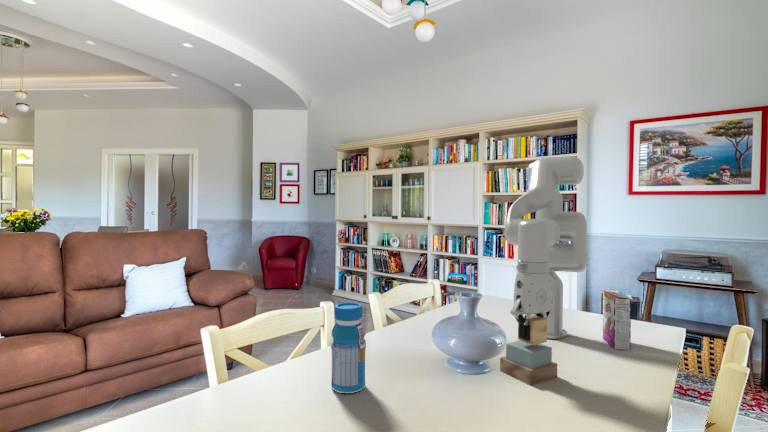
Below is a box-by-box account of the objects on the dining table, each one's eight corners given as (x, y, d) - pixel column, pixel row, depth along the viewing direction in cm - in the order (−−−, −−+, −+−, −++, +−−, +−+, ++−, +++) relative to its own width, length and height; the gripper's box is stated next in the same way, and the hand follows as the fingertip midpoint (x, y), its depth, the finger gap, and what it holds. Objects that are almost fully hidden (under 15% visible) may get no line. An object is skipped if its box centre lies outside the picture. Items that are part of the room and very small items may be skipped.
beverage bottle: (338, 398, 92) (338, 311, 92) (325, 384, 99) (326, 303, 99) (371, 390, 96) (371, 307, 95) (357, 377, 103) (357, 299, 103)
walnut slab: (500, 372, 108) (500, 357, 108) (526, 365, 113) (526, 351, 113) (530, 387, 99) (530, 371, 99) (557, 378, 104) (557, 363, 104)
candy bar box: (601, 338, 135) (602, 289, 135) (617, 339, 134) (618, 290, 134) (613, 350, 124) (614, 297, 124) (631, 351, 123) (632, 297, 123)
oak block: (517, 339, 106) (518, 316, 106) (531, 336, 108) (531, 314, 108) (533, 345, 102) (533, 321, 102) (546, 342, 104) (547, 318, 104)
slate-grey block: (506, 358, 107) (506, 343, 107) (525, 353, 111) (525, 338, 111) (531, 369, 100) (531, 353, 100) (551, 362, 105) (551, 347, 105)
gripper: (520, 272, 97) (519, 347, 98) (567, 267, 106) (566, 336, 106) (498, 268, 104) (497, 338, 104) (543, 264, 112) (542, 329, 112)
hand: (532, 336), depth 105 cm, fingers closed on oak block, 4 cm apart
